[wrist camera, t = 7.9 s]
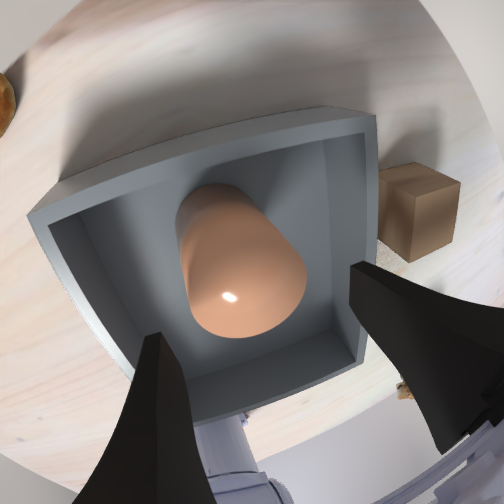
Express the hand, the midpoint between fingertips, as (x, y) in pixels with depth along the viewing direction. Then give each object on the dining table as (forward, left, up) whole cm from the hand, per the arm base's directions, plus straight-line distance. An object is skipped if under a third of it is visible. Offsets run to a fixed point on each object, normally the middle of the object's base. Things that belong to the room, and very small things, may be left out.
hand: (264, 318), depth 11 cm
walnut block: (-2, -14, -10) cm, 17 cm away
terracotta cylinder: (0, 0, -9) cm, 9 cm away
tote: (-4, 0, -9) cm, 10 cm away
